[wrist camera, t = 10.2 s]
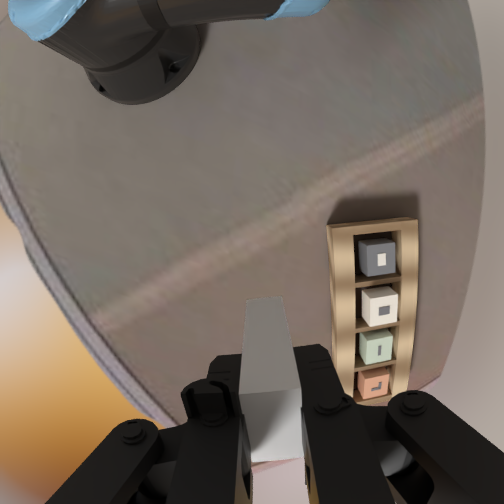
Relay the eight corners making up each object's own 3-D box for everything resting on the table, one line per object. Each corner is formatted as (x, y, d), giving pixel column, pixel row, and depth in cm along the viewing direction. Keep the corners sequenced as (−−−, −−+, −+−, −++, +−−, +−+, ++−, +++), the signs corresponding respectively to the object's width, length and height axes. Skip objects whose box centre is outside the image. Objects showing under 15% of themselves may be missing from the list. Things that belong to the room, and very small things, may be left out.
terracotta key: (358, 367, 40) (365, 379, 37) (381, 362, 40) (389, 374, 37) (357, 386, 41) (363, 399, 38) (379, 381, 41) (387, 394, 38)
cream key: (361, 289, 37) (370, 299, 34) (388, 285, 37) (398, 294, 34) (361, 316, 38) (370, 327, 34) (387, 311, 38) (397, 322, 34)
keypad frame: (326, 225, 37) (332, 228, 34) (406, 217, 37) (417, 219, 34) (331, 399, 42) (335, 411, 39) (398, 385, 42) (405, 395, 39)
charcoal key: (358, 240, 37) (367, 245, 33) (384, 237, 36) (395, 242, 33) (359, 269, 37) (367, 276, 34) (385, 265, 37) (395, 272, 34)
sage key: (359, 330, 39) (367, 341, 36) (384, 325, 39) (393, 336, 36) (359, 352, 40) (366, 365, 37) (382, 348, 40) (391, 359, 36)
